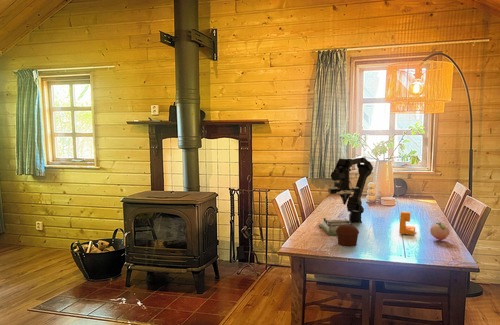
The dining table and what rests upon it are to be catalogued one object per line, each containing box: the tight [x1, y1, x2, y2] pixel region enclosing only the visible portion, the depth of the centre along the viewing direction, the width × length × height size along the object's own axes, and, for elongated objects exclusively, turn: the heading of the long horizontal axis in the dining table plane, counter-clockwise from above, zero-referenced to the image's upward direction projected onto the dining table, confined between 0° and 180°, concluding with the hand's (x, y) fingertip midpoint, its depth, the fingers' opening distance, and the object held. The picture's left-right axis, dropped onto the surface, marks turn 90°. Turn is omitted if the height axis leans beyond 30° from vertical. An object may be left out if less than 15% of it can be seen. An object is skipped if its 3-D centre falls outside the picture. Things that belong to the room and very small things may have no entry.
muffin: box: [336, 224, 360, 248], centre depth 191 cm, size 12×11×10 cm
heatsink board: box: [318, 217, 353, 237], centre depth 218 cm, size 16×23×6 cm
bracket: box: [398, 211, 416, 236], centre depth 210 cm, size 11×7×12 cm, turn 151°
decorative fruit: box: [429, 221, 451, 242], centre depth 194 cm, size 9×8×10 cm
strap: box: [327, 223, 349, 226], centre depth 213 cm, size 13×3×1 cm, turn 94°
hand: (344, 204), depth 227 cm, fingers closed
